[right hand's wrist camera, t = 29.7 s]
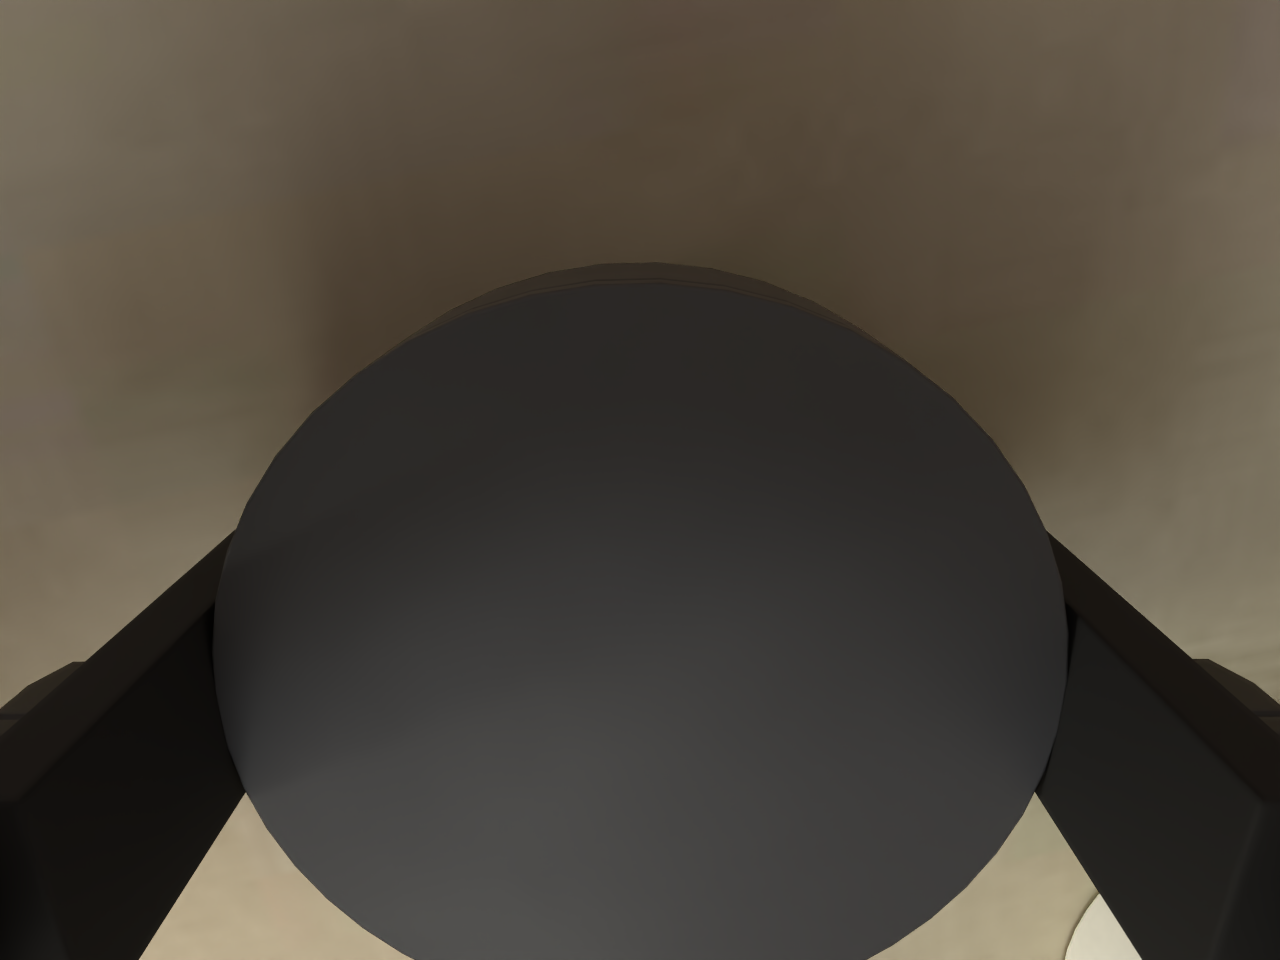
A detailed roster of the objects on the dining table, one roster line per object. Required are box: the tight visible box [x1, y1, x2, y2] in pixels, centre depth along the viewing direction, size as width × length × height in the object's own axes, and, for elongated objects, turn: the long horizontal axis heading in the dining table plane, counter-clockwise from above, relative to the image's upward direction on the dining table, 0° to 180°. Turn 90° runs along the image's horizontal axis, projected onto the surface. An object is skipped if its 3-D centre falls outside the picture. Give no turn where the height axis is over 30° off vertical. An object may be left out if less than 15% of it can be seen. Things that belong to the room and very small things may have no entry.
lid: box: [212, 263, 1069, 960], centre depth 11 cm, size 10×10×2 cm
